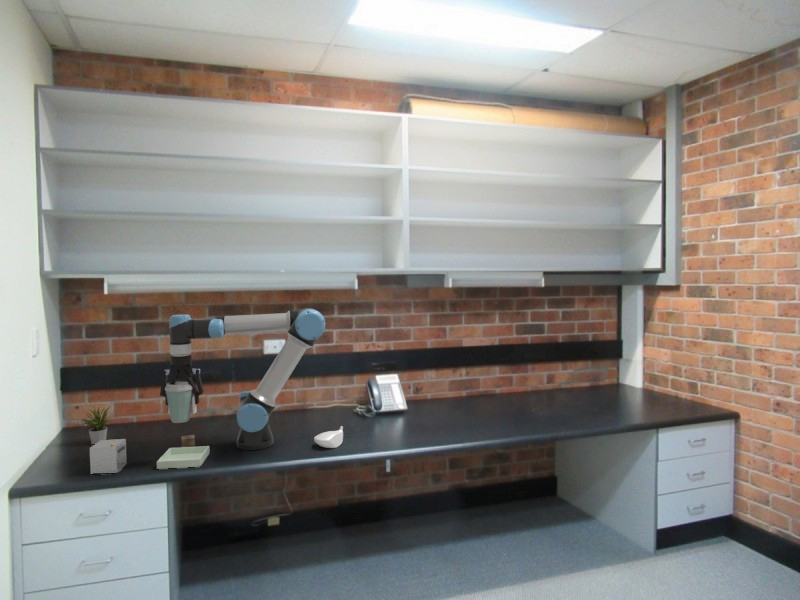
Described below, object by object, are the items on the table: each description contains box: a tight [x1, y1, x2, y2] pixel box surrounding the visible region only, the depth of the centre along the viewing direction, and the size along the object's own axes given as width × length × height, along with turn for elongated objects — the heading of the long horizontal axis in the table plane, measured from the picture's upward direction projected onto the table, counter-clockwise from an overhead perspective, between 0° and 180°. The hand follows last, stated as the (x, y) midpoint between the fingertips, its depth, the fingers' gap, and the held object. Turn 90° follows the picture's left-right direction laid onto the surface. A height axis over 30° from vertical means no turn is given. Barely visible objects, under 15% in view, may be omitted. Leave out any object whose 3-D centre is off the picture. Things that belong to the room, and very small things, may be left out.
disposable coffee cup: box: [165, 381, 194, 424], centre depth 200 cm, size 11×11×15 cm
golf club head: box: [313, 425, 344, 449], centre depth 218 cm, size 10×11×12 cm
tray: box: [156, 445, 211, 470], centre depth 201 cm, size 15×15×3 cm
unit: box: [89, 438, 128, 475], centre depth 193 cm, size 10×9×10 cm
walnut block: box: [181, 434, 196, 447], centre depth 215 cm, size 5×5×5 cm
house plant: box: [77, 405, 113, 445], centre depth 225 cm, size 14×14×16 cm
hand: (182, 413), depth 200 cm, fingers open, 8 cm apart
